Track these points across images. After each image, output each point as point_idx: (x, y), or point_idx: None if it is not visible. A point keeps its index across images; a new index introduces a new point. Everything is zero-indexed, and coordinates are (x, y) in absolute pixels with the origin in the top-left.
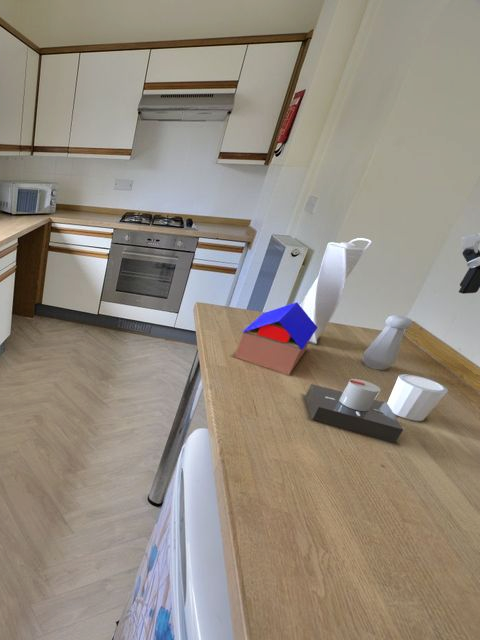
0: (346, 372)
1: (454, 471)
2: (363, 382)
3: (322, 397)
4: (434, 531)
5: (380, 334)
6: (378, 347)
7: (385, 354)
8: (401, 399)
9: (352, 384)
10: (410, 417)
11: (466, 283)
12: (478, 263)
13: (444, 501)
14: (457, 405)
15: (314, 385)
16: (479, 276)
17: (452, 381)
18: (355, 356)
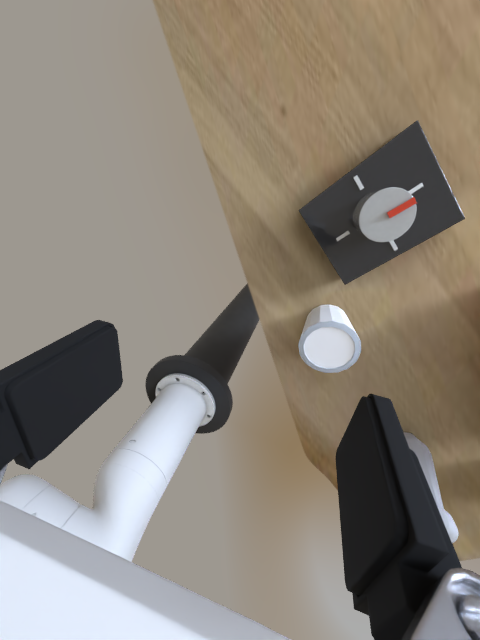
0: (426, 384)
1: (239, 216)
2: (392, 227)
3: (426, 177)
4: (188, 7)
5: (438, 491)
6: (422, 462)
7: None
8: (335, 313)
9: (404, 189)
10: (315, 308)
11: (390, 434)
12: (454, 633)
13: (215, 114)
14: (299, 402)
15: (457, 217)
16: (365, 507)
17: (324, 464)
18: (435, 454)
